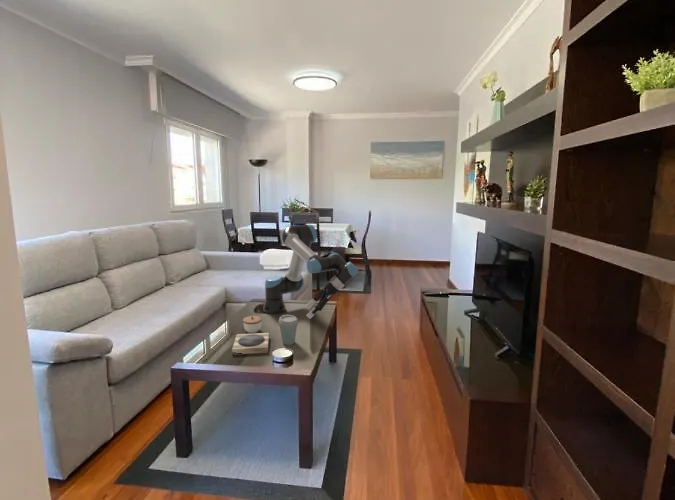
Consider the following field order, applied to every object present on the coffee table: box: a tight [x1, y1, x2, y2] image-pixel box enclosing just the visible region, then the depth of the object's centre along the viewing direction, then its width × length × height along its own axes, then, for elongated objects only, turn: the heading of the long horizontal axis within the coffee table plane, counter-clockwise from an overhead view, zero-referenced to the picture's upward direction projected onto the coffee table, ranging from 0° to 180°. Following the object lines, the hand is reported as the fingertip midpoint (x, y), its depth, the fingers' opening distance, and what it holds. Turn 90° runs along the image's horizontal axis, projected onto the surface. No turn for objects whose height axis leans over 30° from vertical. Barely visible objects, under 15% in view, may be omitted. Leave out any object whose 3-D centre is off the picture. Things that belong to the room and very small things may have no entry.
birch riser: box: [231, 332, 270, 355], centre depth 195 cm, size 18×18×3 cm
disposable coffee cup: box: [278, 314, 299, 346], centre depth 198 cm, size 11×11×15 cm
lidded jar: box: [242, 315, 262, 334], centre depth 213 cm, size 11×11×9 cm
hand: (307, 312), depth 198 cm, fingers open, 13 cm apart
